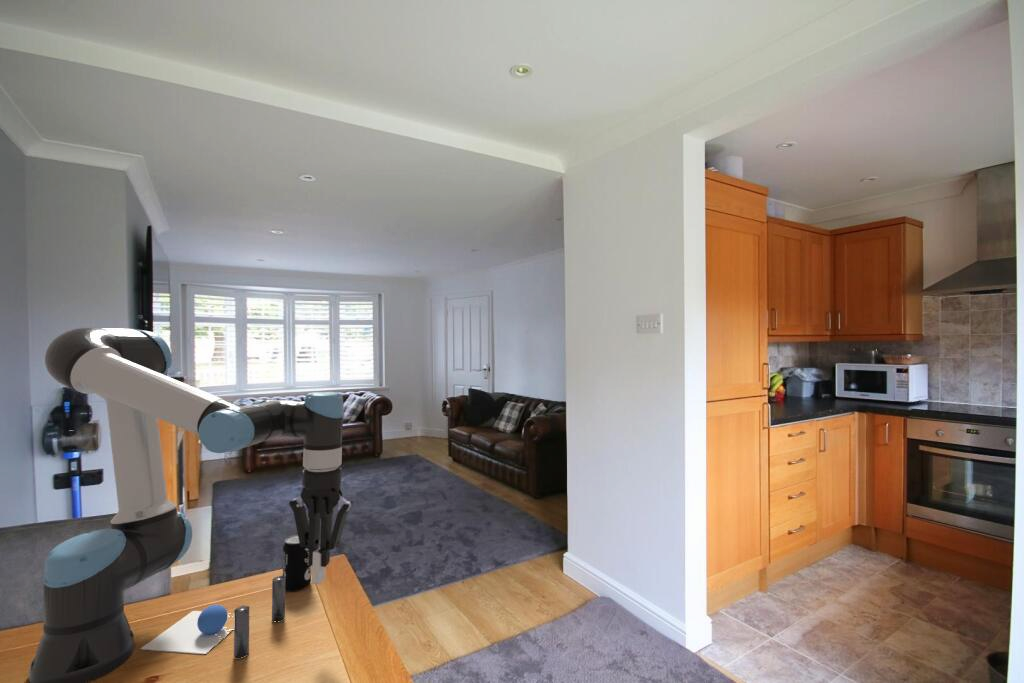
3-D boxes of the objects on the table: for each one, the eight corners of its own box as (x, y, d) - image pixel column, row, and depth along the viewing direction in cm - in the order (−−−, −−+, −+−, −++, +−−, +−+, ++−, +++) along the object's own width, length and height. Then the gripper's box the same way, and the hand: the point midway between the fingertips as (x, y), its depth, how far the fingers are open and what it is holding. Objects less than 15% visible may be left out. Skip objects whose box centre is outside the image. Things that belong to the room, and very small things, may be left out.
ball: (216, 615, 101) (214, 641, 101) (234, 601, 106) (232, 626, 106) (192, 611, 101) (189, 638, 101) (210, 598, 107) (209, 623, 107)
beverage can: (300, 593, 120) (300, 544, 120) (276, 590, 121) (277, 542, 121) (316, 581, 126) (316, 534, 126) (293, 578, 128) (294, 532, 128)
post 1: (230, 658, 95) (231, 612, 95) (239, 650, 98) (240, 605, 98) (243, 659, 95) (243, 613, 95) (251, 651, 97) (252, 606, 97)
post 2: (269, 622, 108) (269, 581, 108) (276, 615, 110) (276, 575, 110) (280, 622, 107) (281, 581, 107) (287, 616, 110) (287, 576, 110)
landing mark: (140, 649, 98) (140, 648, 98) (193, 611, 112) (193, 610, 112) (205, 654, 96) (205, 653, 96) (250, 615, 110) (250, 614, 110)
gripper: (360, 464, 104) (356, 575, 104) (302, 461, 106) (298, 570, 106) (344, 473, 97) (340, 592, 97) (282, 469, 98) (278, 587, 98)
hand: (318, 580), depth 101 cm, fingers closed
